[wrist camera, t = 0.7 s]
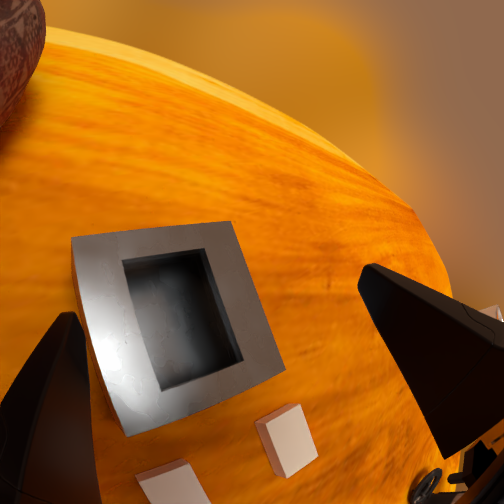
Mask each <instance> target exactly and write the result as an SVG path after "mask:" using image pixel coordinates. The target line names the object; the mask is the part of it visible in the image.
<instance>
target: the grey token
mask: <svg viewBox="0 0 504 504" xmlns="http://www.w3.org/2000/svg"><path fill="white" fill-rule="evenodd" d="M135 477H136V479H137V481H138V483H139V484H140V486H141V488H142V490H143V491H144V493H145V495H146V496H147V498H148V500H149V501H150V503H151V504H211V502H210V501H209V499H208V497H207V495H206V494H205V492H204V490H203V488H202V487H201V485H200V483H199V481H198V479H197V477H196V475H195V473H194V471H193V470H192V468H191V466H190V464H189V463H188V462H187V461H185V460H184V459H182V458H181V459H178V460H176V461H173V462H170V463H168V464H165V465H162V466H160V467H157V468H154V469H151V470H148V471H145V472H142V473H139V474H136V475H135Z"/></svg>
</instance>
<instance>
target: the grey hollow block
mask: <svg viewBox="0 0 504 504" xmlns="http://www.w3.org/2000/svg"><path fill="white" fill-rule="evenodd" d="M71 268H72V278H73V284H74V289H75V294H76V299H77V304H78V308H79V313H80V317H81V321H82V325H83V329H84V333H85V337H86V341H87V344H88V348H89V351H90V355H91V358H92V361H93V364H94V367H95V371H96V374H97V377H98V379H99V382H100V385H101V388H102V391H103V393H104V396H105V399H106V401H107V404H108V406H109V409H110V411H111V414H112V416H113V419H114V421H115V422H116V424H117V425H118V426H119V427H120V429H121V430H122V431H123V433H124V434H125V435H126V436H127V437H130V436H133V435H136V434H139V433H142V432H145V431H148V430H151V429H154V428H157V427H160V426H163V425H165V424H168V423H171V422H173V421H176V420H179V419H181V418H184V417H186V416H189V415H191V414H194V413H196V412H199V411H201V410H203V409H206V408H208V407H211V406H213V405H215V404H217V403H220V402H222V401H224V400H226V399H229V398H231V397H233V396H235V395H237V394H239V393H241V392H244V391H246V390H248V389H250V388H252V387H254V386H256V385H258V384H260V383H262V382H264V381H266V380H268V379H270V378H272V377H273V376H275V375H277V374H279V373H281V372H283V371H285V370H286V369H285V366H284V363H283V361H282V358H281V356H280V353H279V350H278V348H277V345H276V342H275V340H274V337H273V334H272V332H271V329H270V326H269V324H268V321H267V318H266V316H265V313H264V310H263V308H262V305H261V302H260V299H259V297H258V294H257V291H256V289H255V286H254V283H253V281H252V278H251V275H250V272H249V270H248V267H247V264H246V262H245V259H244V256H243V253H242V251H241V248H240V245H239V242H238V240H237V237H236V234H235V232H234V229H233V226H232V223H231V221H223V222H211V223H199V224H188V225H177V226H167V227H157V228H147V229H138V230H128V231H119V232H111V233H102V234H94V235H86V236H78V237H71Z"/></svg>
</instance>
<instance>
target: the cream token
mask: <svg viewBox="0 0 504 504" xmlns="http://www.w3.org/2000/svg"><path fill="white" fill-rule="evenodd" d="M254 423H255V426H256V428H257V431H258V433H259V436H260V438H261V441H262V443H263V446H264V448H265V451H266V453H267V456H268V458H269V461H270V463H271V465H272V468H273V470H274V473H275V475H278V476H281V477H284V478H288V477H290V476H291V475H293V474H294V473H296V472H297V471H299V470H300V469H301V468H303V467H304V466H306V465H307V464H308V463H310V462H311V461H312V460H314V459H315V458H316V457H318V454H317V451H316V448H315V445H314V442H313V440H312V437H311V434H310V431H309V428H308V425H307V422H306V420H305V417H304V414H303V411H302V408H301V405H300V404H287V405H285V406H283V407H281V408H280V409H278V410H276V411H274V412H272V413H271V414H269V415H267V416H265V417H263V418H261V419H259V420H257V421H255V422H254Z"/></svg>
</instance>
